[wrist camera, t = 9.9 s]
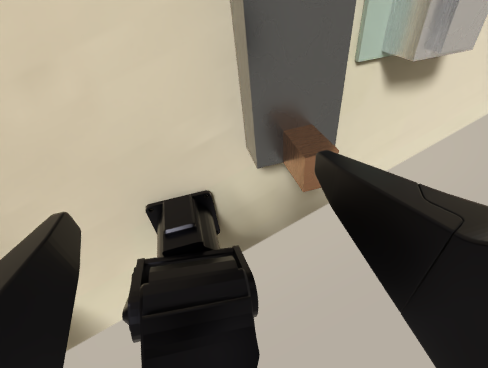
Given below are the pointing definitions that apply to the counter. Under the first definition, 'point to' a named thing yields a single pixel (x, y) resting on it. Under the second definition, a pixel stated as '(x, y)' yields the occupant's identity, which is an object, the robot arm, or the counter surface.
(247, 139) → the hand plane
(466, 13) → the lever cap
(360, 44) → the mat
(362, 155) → the counter surface
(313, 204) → the counter surface
